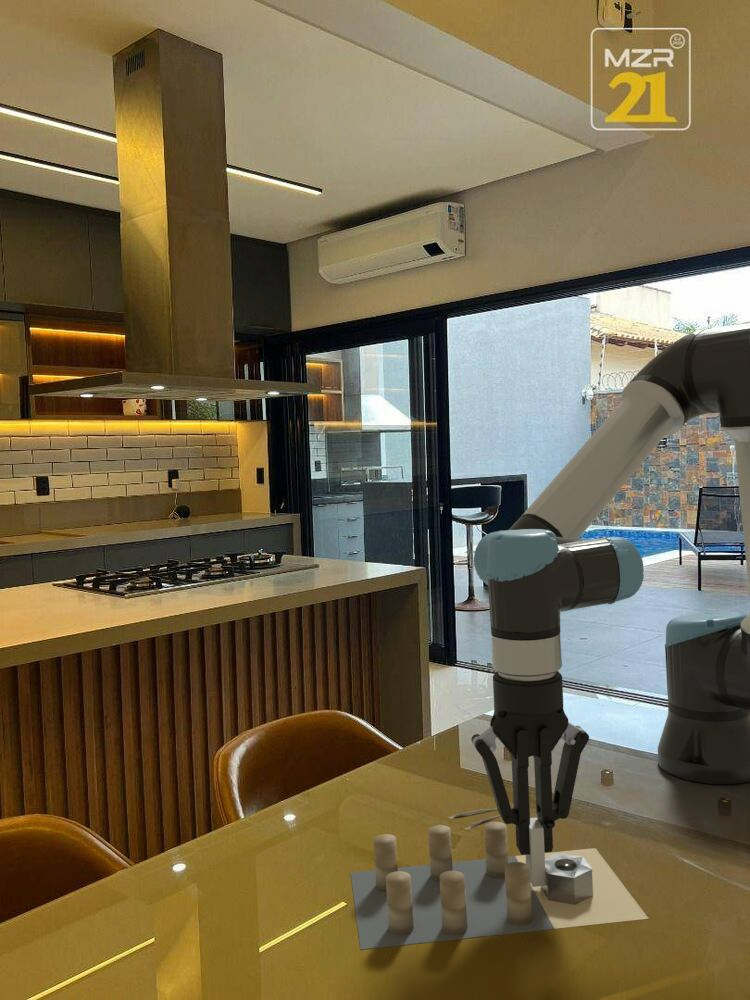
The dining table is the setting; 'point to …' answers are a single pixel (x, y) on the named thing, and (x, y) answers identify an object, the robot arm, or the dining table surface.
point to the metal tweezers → (475, 813)
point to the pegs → (451, 880)
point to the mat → (487, 904)
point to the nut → (567, 879)
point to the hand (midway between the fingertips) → (536, 879)
